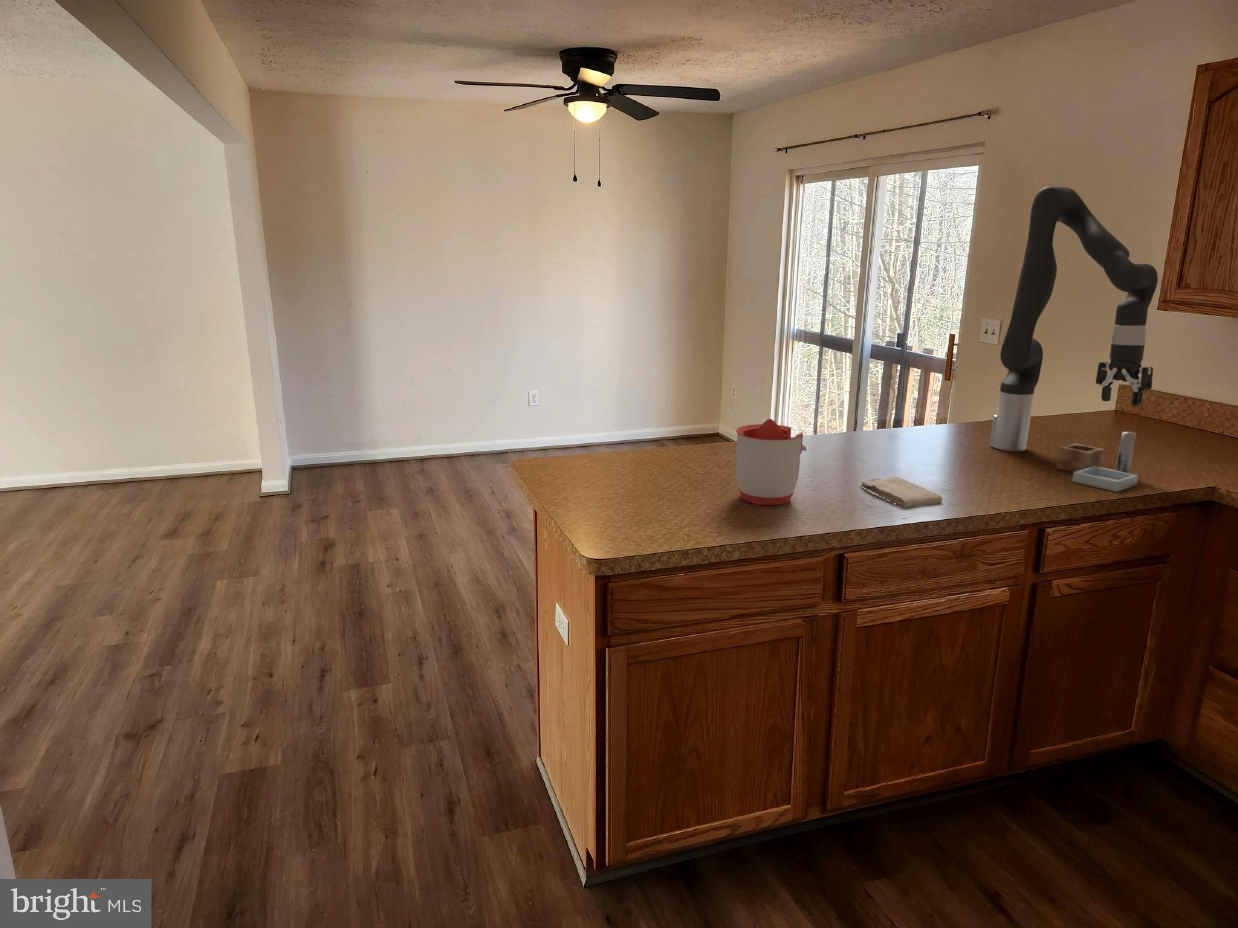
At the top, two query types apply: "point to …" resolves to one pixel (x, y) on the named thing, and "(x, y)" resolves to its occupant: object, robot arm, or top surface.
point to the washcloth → (902, 492)
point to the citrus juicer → (767, 462)
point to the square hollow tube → (1079, 457)
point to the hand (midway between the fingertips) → (1120, 403)
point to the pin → (1125, 451)
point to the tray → (1105, 478)
